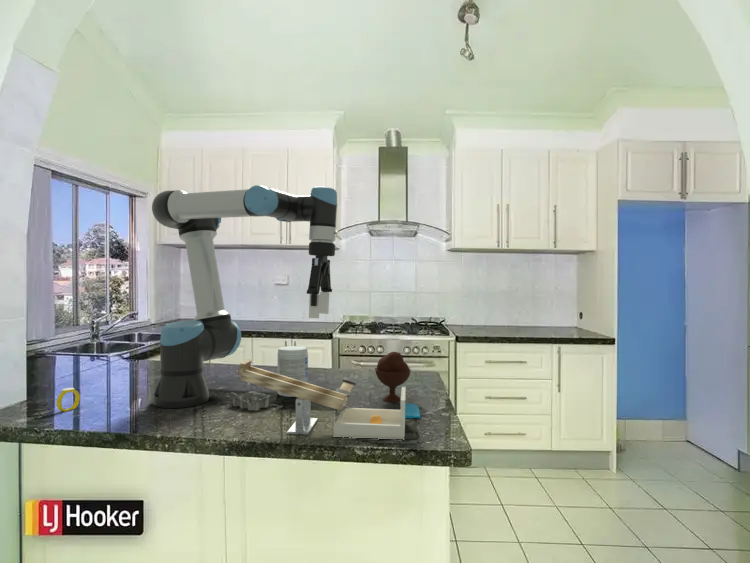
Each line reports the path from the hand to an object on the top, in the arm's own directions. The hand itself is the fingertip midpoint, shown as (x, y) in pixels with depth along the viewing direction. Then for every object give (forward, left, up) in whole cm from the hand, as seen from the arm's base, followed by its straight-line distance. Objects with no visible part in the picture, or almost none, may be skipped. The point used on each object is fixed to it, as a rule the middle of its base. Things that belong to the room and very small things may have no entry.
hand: (319, 315), depth 131 cm
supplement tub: (-11, +13, -27) cm, 31 cm away
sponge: (+27, -2, -27) cm, 38 cm away
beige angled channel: (-3, -8, -18) cm, 19 cm away
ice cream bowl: (+21, +10, -26) cm, 35 cm away
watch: (-67, -12, -27) cm, 73 cm away
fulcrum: (0, -18, -26) cm, 32 cm away
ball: (+18, -18, -24) cm, 35 cm away
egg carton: (-19, -1, -27) cm, 33 cm away
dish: (+17, -18, -26) cm, 36 cm away
